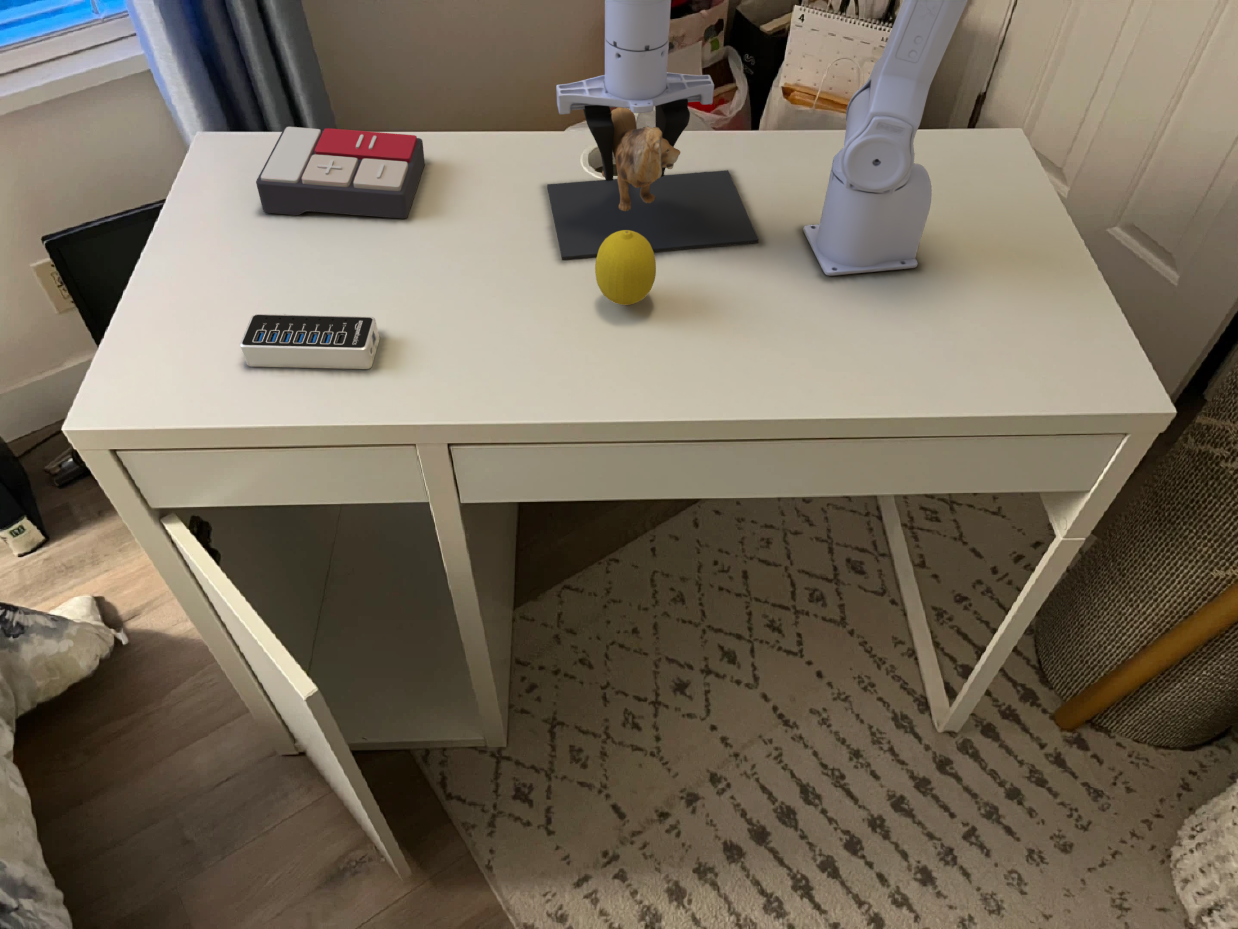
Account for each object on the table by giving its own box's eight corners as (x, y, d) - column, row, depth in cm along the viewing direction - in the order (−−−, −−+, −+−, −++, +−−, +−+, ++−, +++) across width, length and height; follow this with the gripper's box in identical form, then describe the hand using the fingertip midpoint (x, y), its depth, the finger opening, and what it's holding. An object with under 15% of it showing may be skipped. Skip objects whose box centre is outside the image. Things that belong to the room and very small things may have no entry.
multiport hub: (259, 333, 85) (252, 313, 83) (380, 335, 85) (376, 316, 83) (245, 366, 82) (238, 346, 80) (371, 369, 82) (366, 349, 80)
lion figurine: (683, 218, 91) (686, 133, 84) (633, 232, 90) (631, 147, 83) (625, 144, 100) (623, 62, 93) (578, 156, 99) (573, 73, 92)
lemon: (648, 326, 86) (651, 254, 80) (589, 317, 87) (588, 245, 81) (658, 289, 90) (662, 217, 84) (602, 281, 91) (602, 210, 85)
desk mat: (727, 173, 104) (728, 169, 103) (758, 242, 95) (758, 239, 95) (547, 187, 101) (547, 183, 101) (562, 260, 93) (562, 256, 93)
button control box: (403, 188, 94) (252, 176, 94) (407, 224, 97) (261, 213, 97) (422, 131, 101) (282, 119, 101) (426, 166, 105) (290, 155, 104)
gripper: (561, 62, 80) (565, 201, 90) (727, 52, 82) (712, 189, 92) (551, 26, 85) (556, 162, 95) (708, 17, 86) (697, 151, 97)
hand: (632, 173), depth 94 cm, fingers closed on lion figurine, 4 cm apart
